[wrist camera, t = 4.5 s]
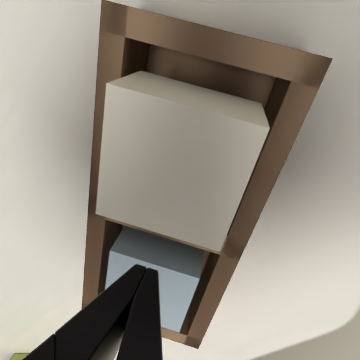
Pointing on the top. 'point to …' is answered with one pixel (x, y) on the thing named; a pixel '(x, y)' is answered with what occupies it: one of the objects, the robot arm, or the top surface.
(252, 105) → the cream block
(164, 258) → the slate key
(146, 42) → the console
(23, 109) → the top surface
